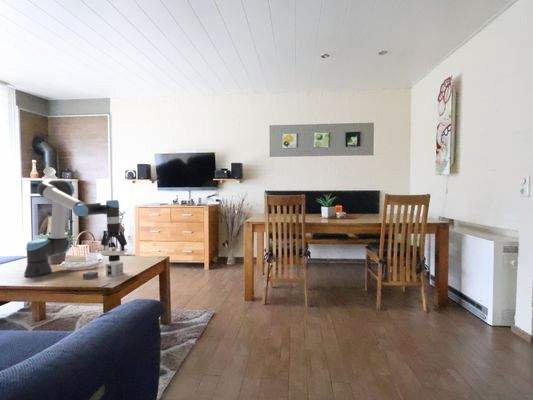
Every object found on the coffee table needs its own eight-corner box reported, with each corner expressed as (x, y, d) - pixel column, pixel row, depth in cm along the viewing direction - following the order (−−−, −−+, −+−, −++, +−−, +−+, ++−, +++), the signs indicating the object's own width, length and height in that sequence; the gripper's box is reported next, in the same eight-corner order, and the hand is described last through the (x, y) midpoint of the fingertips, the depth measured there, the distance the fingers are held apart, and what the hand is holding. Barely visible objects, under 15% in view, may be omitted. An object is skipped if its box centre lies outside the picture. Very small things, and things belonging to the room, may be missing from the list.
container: (115, 276, 200) (115, 256, 200) (105, 275, 202) (105, 256, 201) (123, 272, 208) (123, 254, 207) (113, 272, 209) (113, 253, 209)
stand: (82, 278, 195) (82, 274, 195) (90, 276, 201) (90, 271, 201) (90, 279, 194) (90, 274, 193) (98, 276, 199) (97, 272, 199)
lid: (100, 254, 200) (100, 249, 200) (112, 251, 211) (112, 246, 211) (115, 255, 198) (115, 249, 198) (126, 251, 209) (126, 246, 208)
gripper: (94, 223, 203) (95, 256, 203) (124, 223, 198) (125, 257, 198) (102, 222, 210) (103, 253, 211) (132, 222, 205) (133, 254, 206)
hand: (114, 255), depth 204 cm, fingers closed on lid, 11 cm apart
